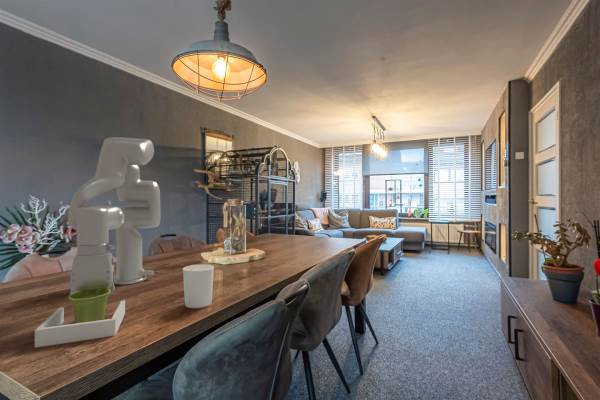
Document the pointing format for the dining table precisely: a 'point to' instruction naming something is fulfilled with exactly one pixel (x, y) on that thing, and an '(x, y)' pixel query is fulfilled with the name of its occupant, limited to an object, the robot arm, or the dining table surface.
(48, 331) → the box
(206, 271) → the candle holder
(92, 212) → the robot arm
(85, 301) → the plant pot
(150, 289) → the dining table surface
